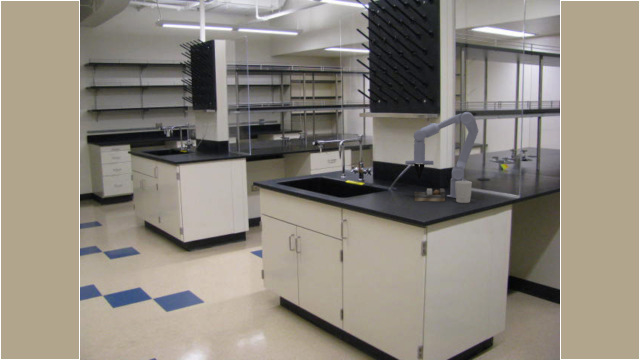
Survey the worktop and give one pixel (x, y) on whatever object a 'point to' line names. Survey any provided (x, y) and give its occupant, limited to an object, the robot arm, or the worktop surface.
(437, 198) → the wooden shadow box
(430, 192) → the grey rectangular block
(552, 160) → the worktop surface
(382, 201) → the worktop surface
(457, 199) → the white cup
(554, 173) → the worktop surface
